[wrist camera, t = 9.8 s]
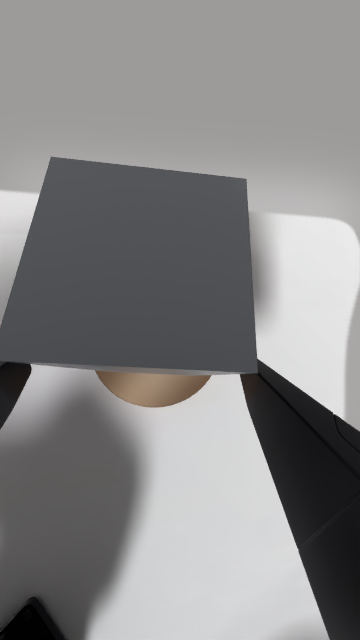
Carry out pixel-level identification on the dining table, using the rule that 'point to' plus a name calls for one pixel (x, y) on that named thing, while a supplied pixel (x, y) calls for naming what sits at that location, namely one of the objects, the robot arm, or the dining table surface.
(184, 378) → the stub base
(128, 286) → the block
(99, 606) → the dining table surface
